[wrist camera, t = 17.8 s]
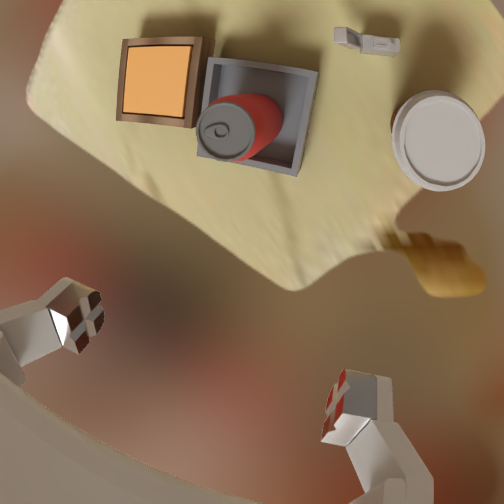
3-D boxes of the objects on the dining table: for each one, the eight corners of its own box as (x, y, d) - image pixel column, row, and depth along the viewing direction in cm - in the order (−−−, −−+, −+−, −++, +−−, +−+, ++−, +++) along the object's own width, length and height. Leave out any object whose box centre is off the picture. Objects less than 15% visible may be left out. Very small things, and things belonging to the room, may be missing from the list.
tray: (319, 73, 32) (317, 71, 29) (300, 169, 39) (296, 176, 36) (218, 59, 34) (208, 56, 31) (207, 150, 41) (196, 155, 38)
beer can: (231, 93, 36) (188, 97, 25) (284, 93, 34) (261, 95, 24) (232, 143, 39) (192, 166, 29) (283, 146, 37) (260, 169, 27)
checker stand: (215, 40, 33) (202, 36, 30) (203, 124, 39) (190, 128, 36) (139, 41, 35) (122, 39, 31) (132, 116, 41) (116, 120, 37)
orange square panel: (194, 47, 32) (190, 46, 31) (186, 116, 36) (182, 117, 35) (134, 48, 33) (128, 47, 32) (128, 110, 38) (123, 111, 37)
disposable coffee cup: (455, 157, 32) (494, 186, 22) (387, 171, 36) (405, 204, 26) (439, 84, 29) (478, 84, 19) (368, 97, 32) (381, 99, 22)
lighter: (393, 44, 28) (406, 32, 21) (393, 57, 29) (407, 49, 22) (334, 39, 30) (333, 25, 23) (335, 52, 31) (334, 42, 24)
